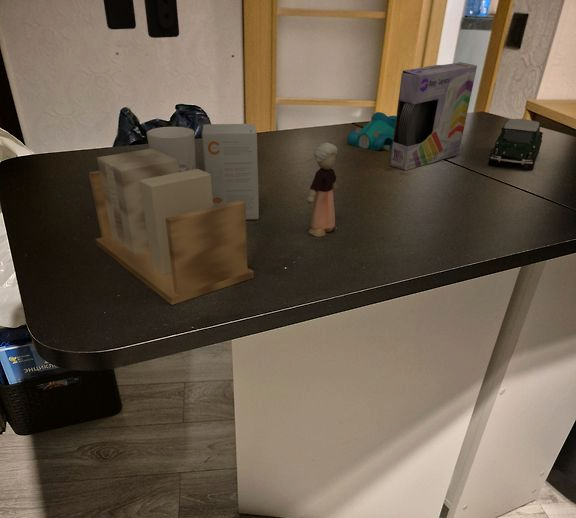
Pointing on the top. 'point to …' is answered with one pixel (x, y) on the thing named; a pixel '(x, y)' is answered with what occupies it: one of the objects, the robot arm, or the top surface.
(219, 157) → the small box
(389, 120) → the toy car
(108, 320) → the top surface
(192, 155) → the white cup
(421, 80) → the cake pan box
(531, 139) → the miniature car
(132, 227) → the book rack
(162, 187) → the cream book
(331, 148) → the grandmother figurine
